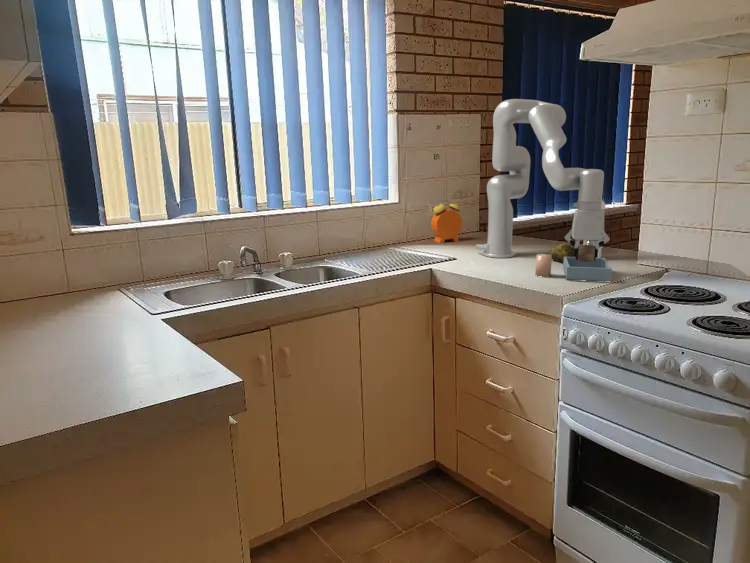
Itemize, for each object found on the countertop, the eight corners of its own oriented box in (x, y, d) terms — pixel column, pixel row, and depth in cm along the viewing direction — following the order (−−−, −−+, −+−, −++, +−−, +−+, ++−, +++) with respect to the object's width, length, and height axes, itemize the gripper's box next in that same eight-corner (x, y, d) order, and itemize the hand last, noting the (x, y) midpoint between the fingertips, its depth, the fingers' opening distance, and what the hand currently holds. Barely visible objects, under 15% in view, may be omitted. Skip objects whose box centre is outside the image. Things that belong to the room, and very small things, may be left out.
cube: (578, 261, 196) (579, 247, 195) (576, 258, 201) (578, 244, 200) (593, 262, 195) (594, 247, 194) (592, 259, 200) (593, 245, 199)
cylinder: (535, 276, 194) (536, 256, 192) (535, 273, 199) (536, 253, 197) (550, 277, 193) (552, 257, 191) (550, 274, 198) (551, 254, 196)
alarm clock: (455, 239, 269) (456, 196, 265) (462, 241, 264) (463, 197, 259) (430, 241, 264) (430, 197, 259) (436, 243, 259) (437, 198, 254)
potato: (567, 259, 222) (569, 238, 220) (580, 266, 210) (581, 244, 208) (546, 259, 222) (547, 238, 220) (557, 266, 209) (559, 244, 207)
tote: (566, 280, 189) (567, 267, 188) (562, 268, 205) (563, 256, 204) (610, 282, 185) (611, 268, 184) (603, 270, 202) (604, 258, 201)
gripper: (563, 207, 192) (560, 260, 197) (618, 208, 188) (613, 262, 192) (562, 204, 199) (558, 256, 204) (614, 205, 195) (610, 258, 200)
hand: (585, 258), depth 198 cm, fingers closed on cube, 4 cm apart
